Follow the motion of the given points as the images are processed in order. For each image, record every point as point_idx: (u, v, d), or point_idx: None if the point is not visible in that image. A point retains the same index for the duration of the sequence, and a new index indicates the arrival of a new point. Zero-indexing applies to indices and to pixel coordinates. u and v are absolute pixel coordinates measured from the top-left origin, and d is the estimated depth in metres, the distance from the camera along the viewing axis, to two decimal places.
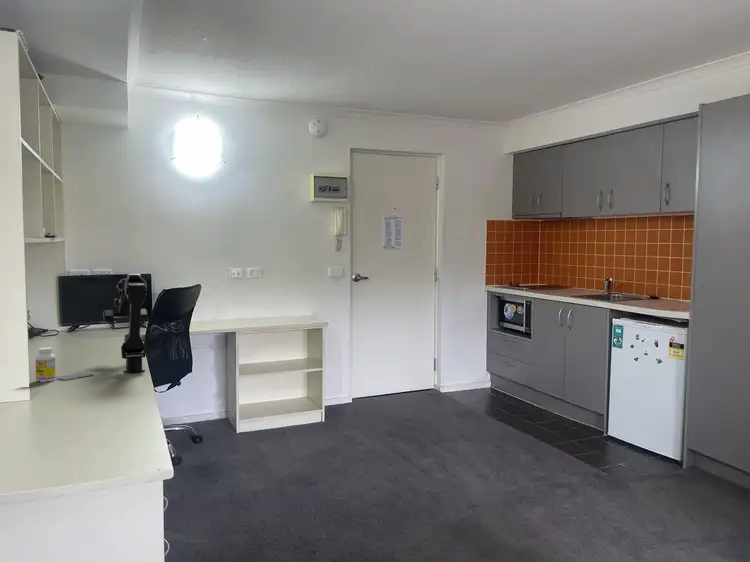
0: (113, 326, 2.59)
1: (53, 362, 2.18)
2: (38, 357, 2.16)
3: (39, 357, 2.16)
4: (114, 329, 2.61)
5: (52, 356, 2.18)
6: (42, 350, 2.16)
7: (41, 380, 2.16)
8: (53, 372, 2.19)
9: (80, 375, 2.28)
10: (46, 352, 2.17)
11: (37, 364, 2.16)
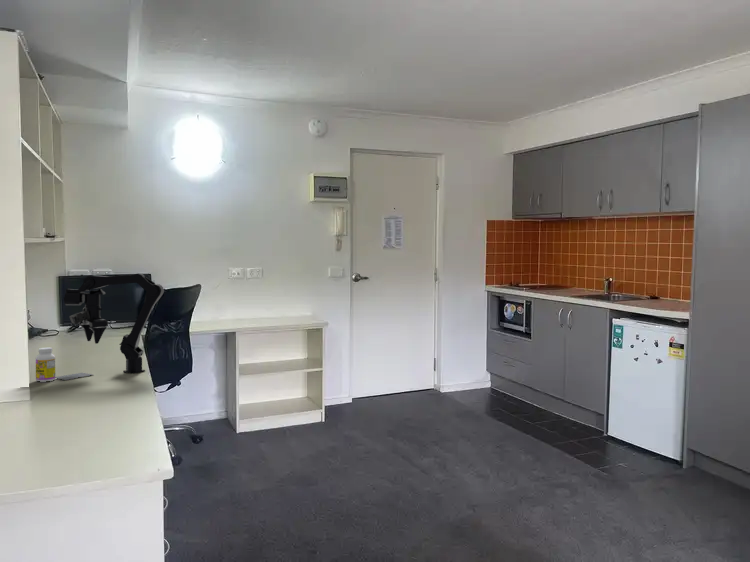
0: None
1: (53, 362, 2.18)
2: (38, 357, 2.16)
3: (39, 357, 2.16)
4: (98, 341, 2.32)
5: (52, 356, 2.18)
6: (42, 350, 2.16)
7: (41, 380, 2.16)
8: (53, 372, 2.19)
9: (80, 375, 2.28)
10: (46, 352, 2.17)
11: (37, 364, 2.16)
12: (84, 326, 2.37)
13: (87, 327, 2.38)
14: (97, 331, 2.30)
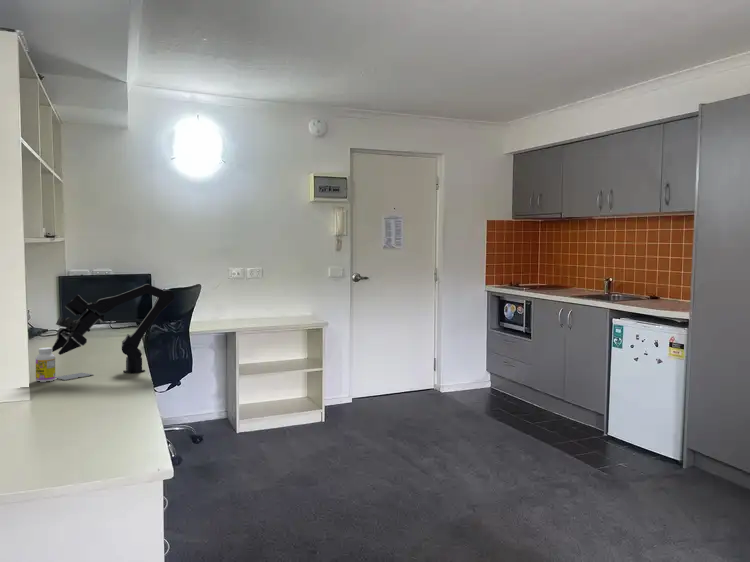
0: None
1: (53, 362, 2.18)
2: (38, 357, 2.16)
3: (39, 357, 2.16)
4: (62, 353, 2.19)
5: (52, 356, 2.18)
6: (42, 350, 2.16)
7: (41, 380, 2.16)
8: (53, 372, 2.19)
9: (80, 375, 2.28)
10: (46, 352, 2.17)
11: (37, 364, 2.16)
12: (60, 336, 2.27)
13: (61, 339, 2.27)
14: (70, 344, 2.20)
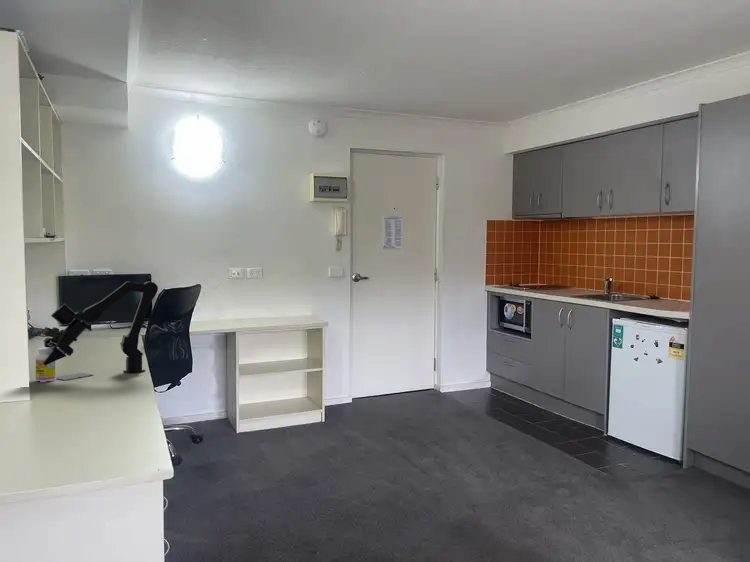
0: None
1: (53, 362, 2.18)
2: (38, 357, 2.16)
3: (39, 357, 2.16)
4: None
5: None
6: (42, 350, 2.16)
7: (41, 380, 2.16)
8: (53, 372, 2.19)
9: (80, 375, 2.28)
10: (46, 352, 2.17)
11: (37, 364, 2.16)
12: (47, 346, 2.23)
13: None
14: (55, 354, 2.17)
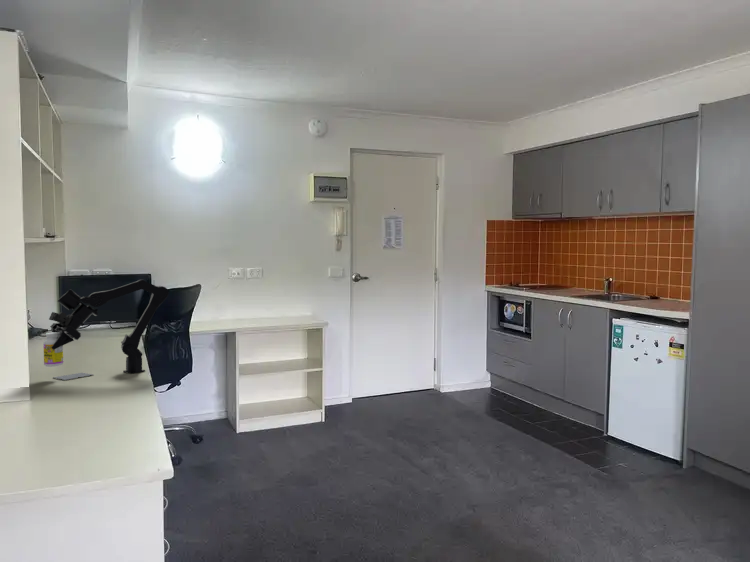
0: None
1: (61, 346, 2.20)
2: (46, 342, 2.17)
3: (47, 342, 2.17)
4: (55, 348, 2.18)
5: None
6: (49, 335, 2.18)
7: (49, 364, 2.18)
8: (61, 356, 2.20)
9: (80, 375, 2.28)
10: (53, 336, 2.18)
11: (45, 349, 2.17)
12: (54, 331, 2.24)
13: None
14: (63, 338, 2.19)
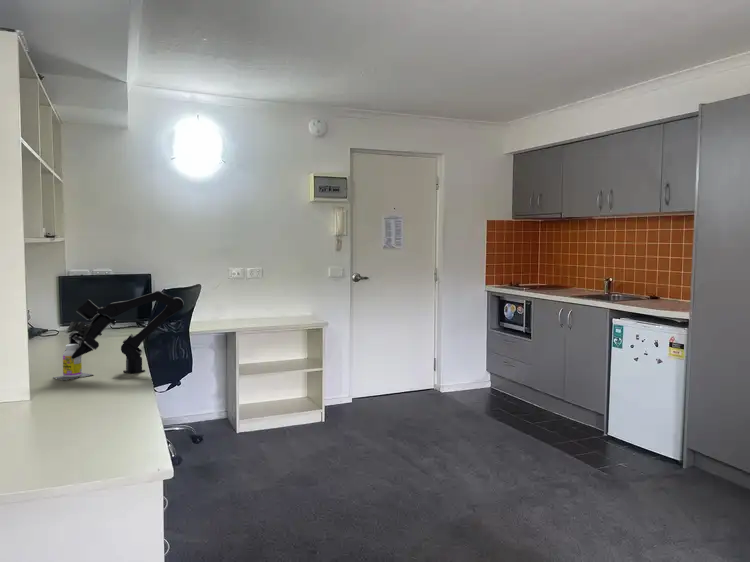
0: None
1: (80, 358, 2.25)
2: (65, 353, 2.23)
3: (66, 353, 2.23)
4: (74, 357, 2.22)
5: None
6: (69, 346, 2.23)
7: (68, 375, 2.23)
8: (80, 368, 2.26)
9: None
10: (73, 348, 2.24)
11: (64, 360, 2.23)
12: (72, 340, 2.30)
13: (73, 343, 2.31)
14: (82, 348, 2.23)
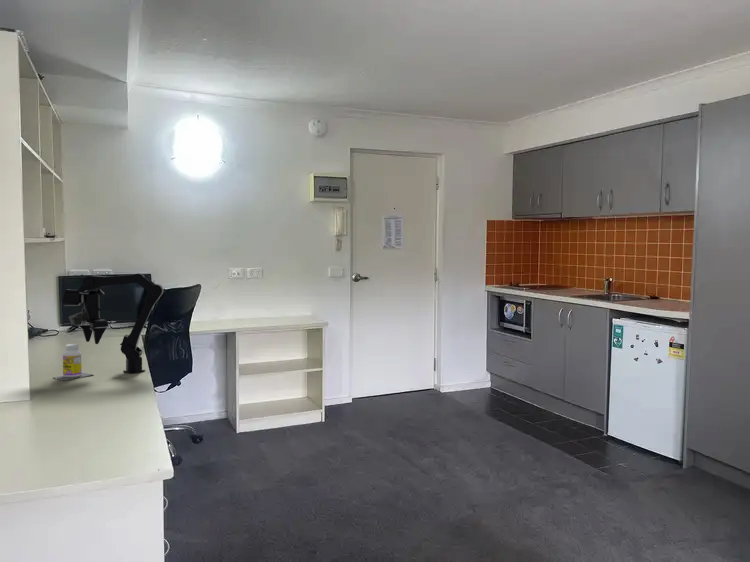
0: None
1: (80, 358, 2.25)
2: (65, 353, 2.23)
3: (66, 353, 2.23)
4: (98, 342, 2.31)
5: (79, 352, 2.25)
6: (69, 346, 2.23)
7: (68, 375, 2.23)
8: (80, 368, 2.26)
9: None
10: (73, 348, 2.24)
11: (64, 360, 2.23)
12: (83, 327, 2.35)
13: (86, 328, 2.36)
14: (97, 331, 2.29)
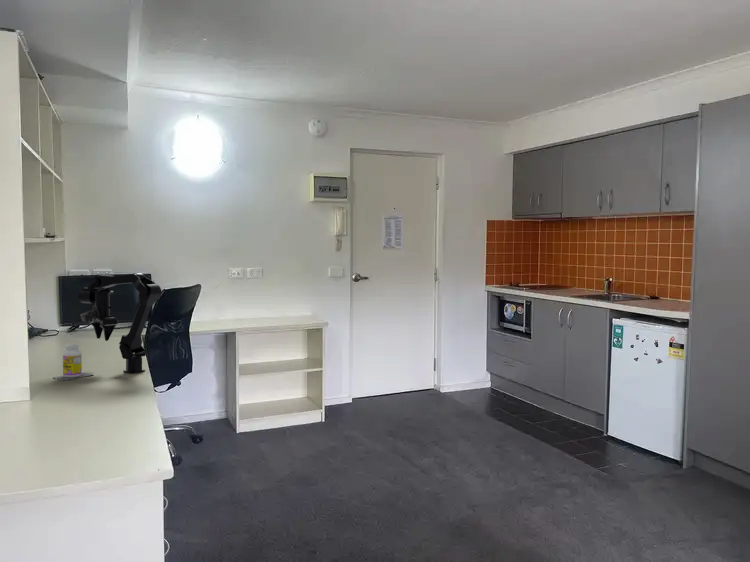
0: None
1: (80, 358, 2.25)
2: (65, 353, 2.23)
3: (66, 353, 2.23)
4: None
5: (79, 352, 2.25)
6: (69, 346, 2.23)
7: (68, 375, 2.23)
8: (80, 368, 2.26)
9: None
10: (73, 348, 2.24)
11: (64, 360, 2.23)
12: (94, 324, 2.45)
13: (97, 325, 2.45)
14: (107, 329, 2.38)
